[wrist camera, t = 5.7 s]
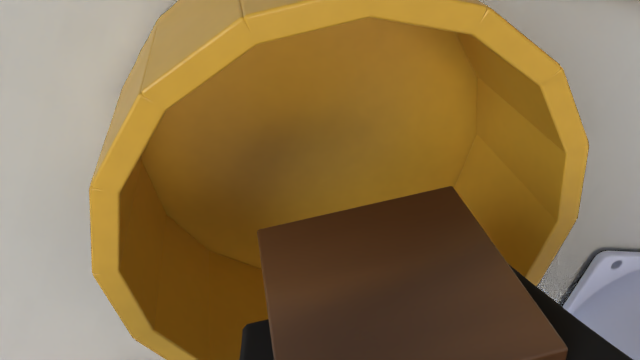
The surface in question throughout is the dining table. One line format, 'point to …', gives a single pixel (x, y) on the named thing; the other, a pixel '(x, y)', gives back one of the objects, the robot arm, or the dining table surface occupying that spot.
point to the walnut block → (398, 287)
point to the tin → (317, 147)
